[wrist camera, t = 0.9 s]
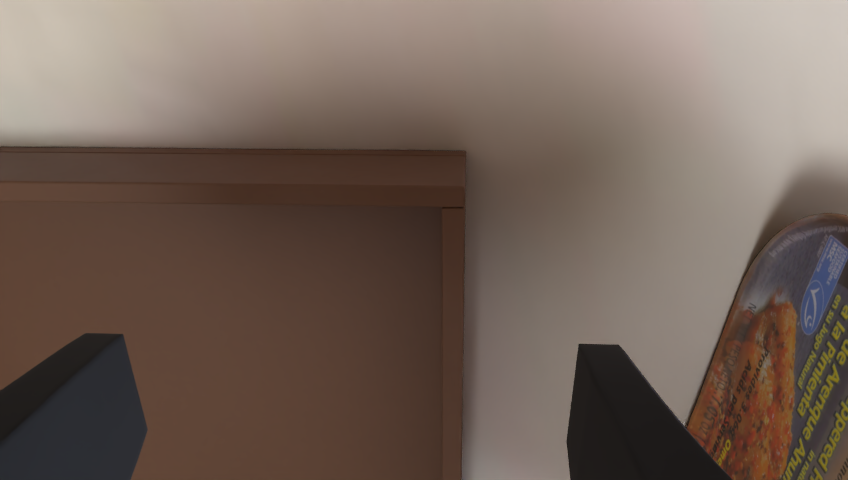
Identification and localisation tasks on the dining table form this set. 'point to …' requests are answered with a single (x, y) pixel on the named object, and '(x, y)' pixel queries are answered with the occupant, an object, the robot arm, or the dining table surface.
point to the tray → (251, 301)
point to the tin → (783, 362)
